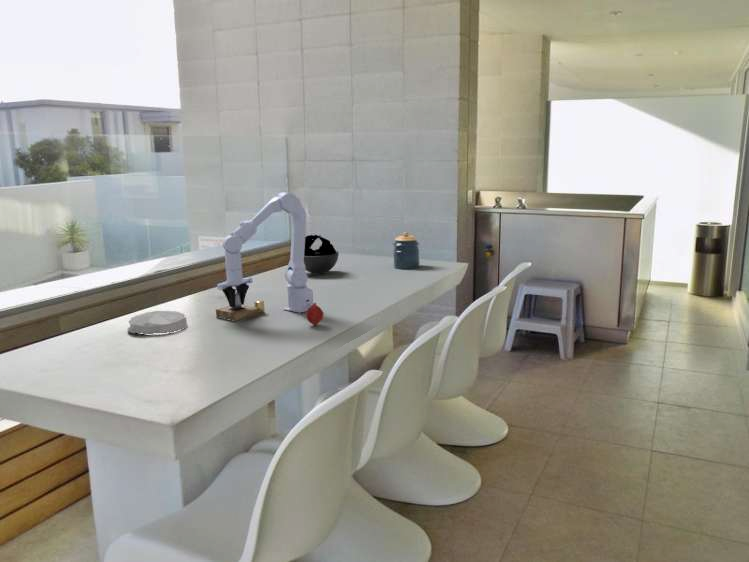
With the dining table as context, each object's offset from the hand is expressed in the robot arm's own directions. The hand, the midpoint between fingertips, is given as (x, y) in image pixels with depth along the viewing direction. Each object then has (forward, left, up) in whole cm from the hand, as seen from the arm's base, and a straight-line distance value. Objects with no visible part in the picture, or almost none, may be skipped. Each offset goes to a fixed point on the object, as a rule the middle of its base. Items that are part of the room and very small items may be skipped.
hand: (236, 305), depth 241 cm
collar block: (0, 0, -4) cm, 4 cm away
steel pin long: (0, 0, -3) cm, 3 cm away
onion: (-33, -7, -4) cm, 34 cm away
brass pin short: (-3, -8, -4) cm, 10 cm away
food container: (+11, +26, -5) cm, 29 cm away
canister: (+6, -111, -4) cm, 111 cm away
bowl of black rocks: (+33, -76, -4) cm, 83 cm away
